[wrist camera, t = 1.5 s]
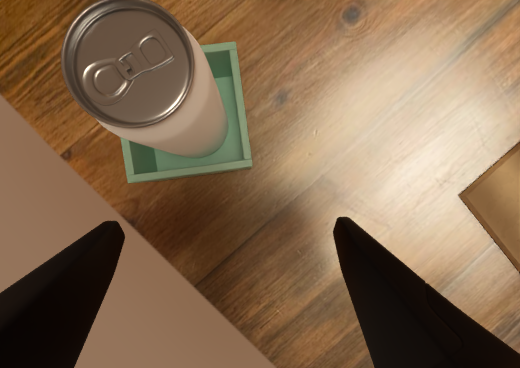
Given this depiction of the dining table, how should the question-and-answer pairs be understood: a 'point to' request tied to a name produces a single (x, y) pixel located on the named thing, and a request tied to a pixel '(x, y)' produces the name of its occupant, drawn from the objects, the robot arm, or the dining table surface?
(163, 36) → the can
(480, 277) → the dining table surface
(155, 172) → the tote
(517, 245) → the board
